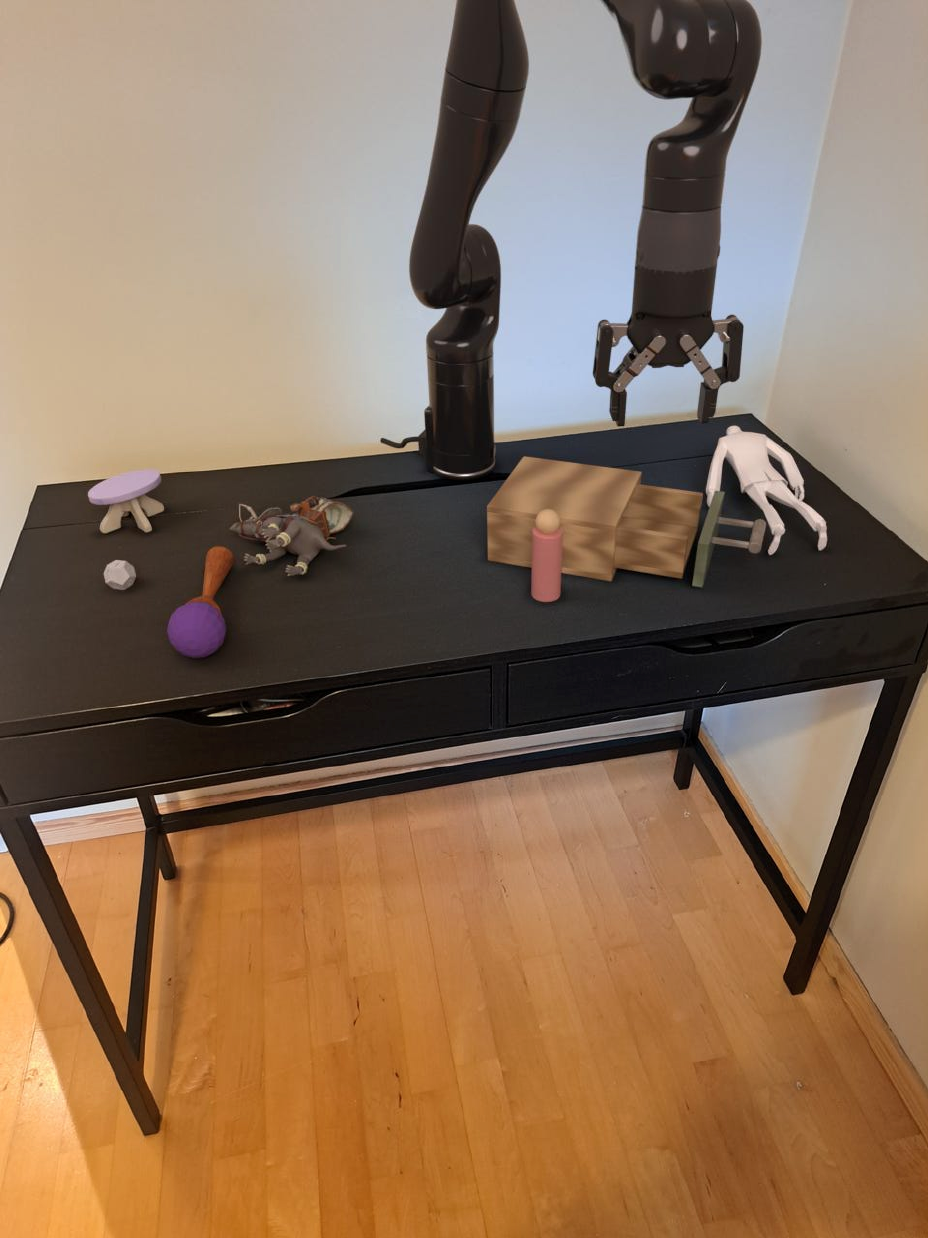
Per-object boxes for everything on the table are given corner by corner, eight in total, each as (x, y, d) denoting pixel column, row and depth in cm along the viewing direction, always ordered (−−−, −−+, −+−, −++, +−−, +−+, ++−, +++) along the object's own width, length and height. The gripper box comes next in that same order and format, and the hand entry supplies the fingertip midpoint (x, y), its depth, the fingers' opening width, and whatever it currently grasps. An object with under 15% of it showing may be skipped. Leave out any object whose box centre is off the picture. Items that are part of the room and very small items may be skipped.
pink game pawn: (536, 584, 106) (537, 501, 100) (563, 589, 105) (567, 505, 99) (527, 599, 104) (528, 515, 98) (555, 604, 103) (559, 520, 97)
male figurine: (844, 560, 112) (770, 450, 130) (858, 521, 108) (780, 412, 126) (739, 569, 111) (679, 457, 129) (749, 530, 107) (686, 420, 125)
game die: (101, 592, 108) (95, 571, 106) (118, 575, 111) (112, 555, 109) (128, 595, 107) (121, 573, 105) (143, 578, 110) (138, 557, 108)
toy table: (159, 498, 127) (150, 461, 124) (180, 523, 121) (171, 485, 118) (89, 518, 123) (78, 480, 120) (107, 545, 117) (95, 506, 114)
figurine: (191, 521, 110) (270, 467, 123) (203, 564, 114) (279, 507, 126) (327, 543, 103) (397, 483, 115) (336, 588, 106) (403, 525, 118)
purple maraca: (245, 538, 109) (222, 622, 92) (244, 581, 112) (221, 670, 95) (195, 534, 108) (162, 617, 91) (195, 577, 111) (162, 666, 94)
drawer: (763, 539, 112) (771, 497, 108) (751, 596, 101) (760, 552, 98) (605, 516, 118) (608, 475, 114) (579, 567, 108) (582, 524, 104)
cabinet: (636, 524, 118) (641, 471, 113) (611, 581, 106) (615, 525, 102) (523, 507, 122) (523, 456, 118) (487, 560, 111) (486, 506, 107)
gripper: (742, 245, 86) (721, 406, 96) (594, 250, 87) (587, 410, 96) (764, 264, 80) (739, 434, 89) (605, 270, 80) (596, 439, 90)
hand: (660, 422), depth 93 cm, fingers open, 8 cm apart
